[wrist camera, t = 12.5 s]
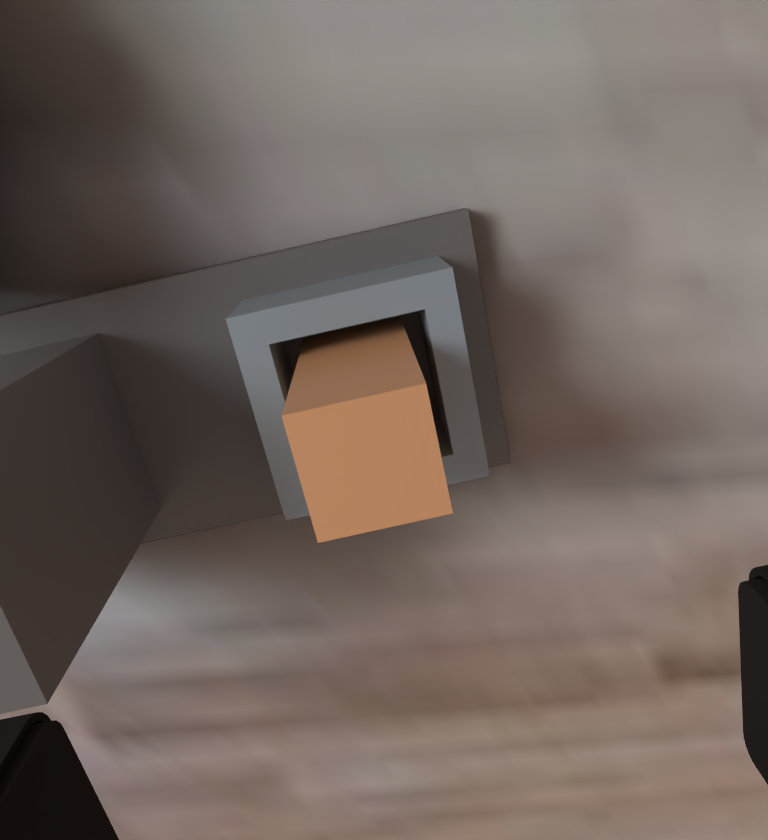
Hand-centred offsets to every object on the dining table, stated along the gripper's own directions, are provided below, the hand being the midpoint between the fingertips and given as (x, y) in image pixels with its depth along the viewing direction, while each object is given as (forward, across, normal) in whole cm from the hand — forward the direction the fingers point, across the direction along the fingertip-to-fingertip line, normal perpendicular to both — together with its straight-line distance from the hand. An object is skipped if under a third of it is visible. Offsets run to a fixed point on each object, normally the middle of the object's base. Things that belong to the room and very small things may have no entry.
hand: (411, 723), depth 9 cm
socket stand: (+21, +8, +1) cm, 22 cm away
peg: (+20, +1, +1) cm, 20 cm away
